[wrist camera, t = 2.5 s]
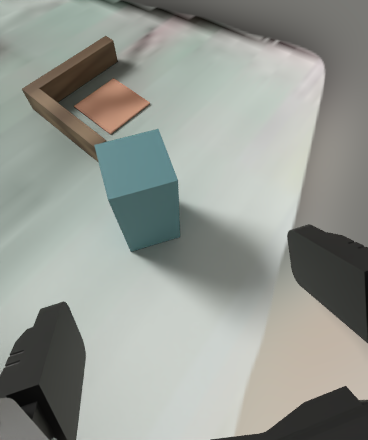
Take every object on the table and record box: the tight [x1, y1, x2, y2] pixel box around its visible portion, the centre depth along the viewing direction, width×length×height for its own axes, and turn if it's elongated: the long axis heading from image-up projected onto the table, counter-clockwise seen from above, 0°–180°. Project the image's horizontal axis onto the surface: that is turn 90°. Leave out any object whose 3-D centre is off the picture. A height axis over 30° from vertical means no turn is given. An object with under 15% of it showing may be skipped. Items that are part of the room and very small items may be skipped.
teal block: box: [94, 129, 180, 252], centre depth 27 cm, size 5×5×10 cm
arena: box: [22, 36, 150, 162], centre depth 38 cm, size 13×13×3 cm
